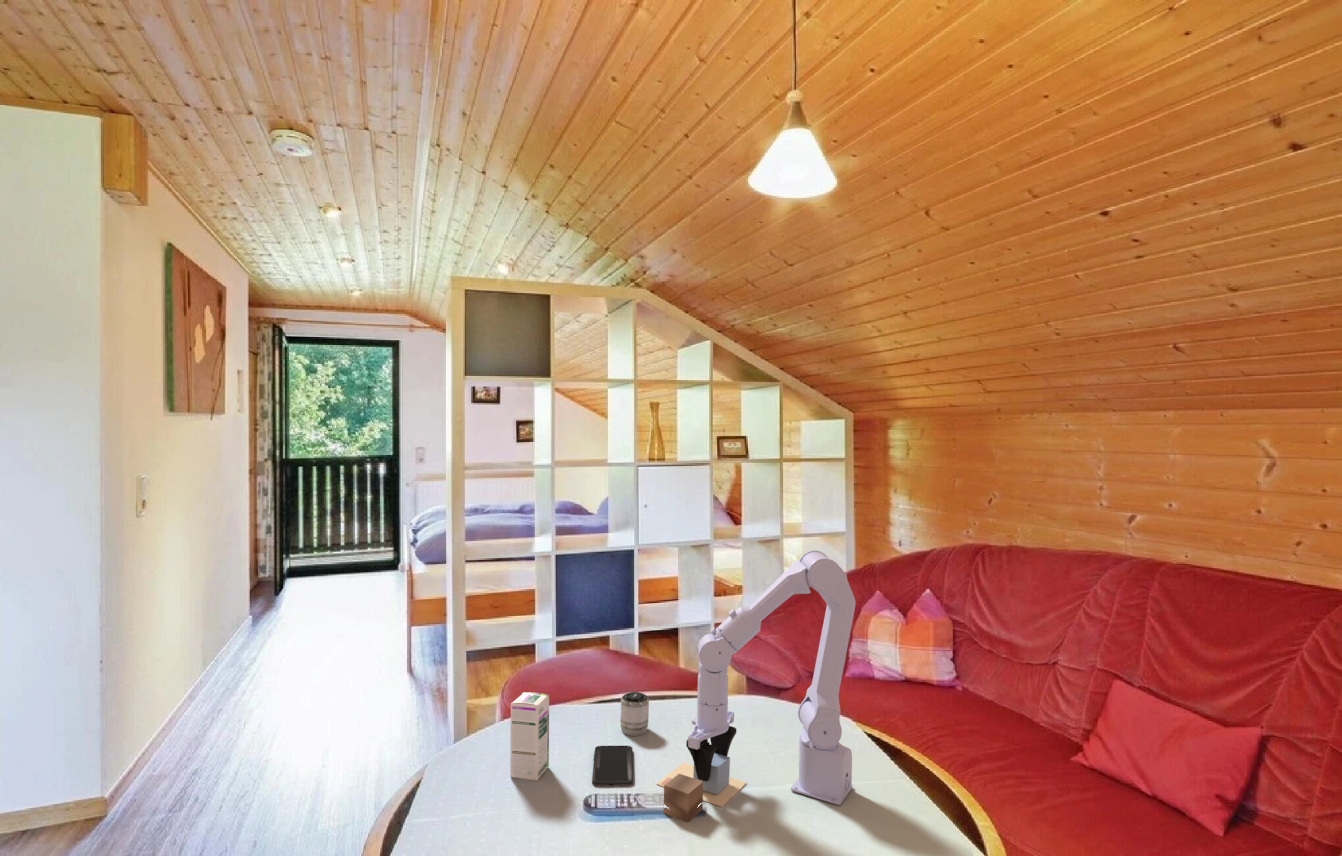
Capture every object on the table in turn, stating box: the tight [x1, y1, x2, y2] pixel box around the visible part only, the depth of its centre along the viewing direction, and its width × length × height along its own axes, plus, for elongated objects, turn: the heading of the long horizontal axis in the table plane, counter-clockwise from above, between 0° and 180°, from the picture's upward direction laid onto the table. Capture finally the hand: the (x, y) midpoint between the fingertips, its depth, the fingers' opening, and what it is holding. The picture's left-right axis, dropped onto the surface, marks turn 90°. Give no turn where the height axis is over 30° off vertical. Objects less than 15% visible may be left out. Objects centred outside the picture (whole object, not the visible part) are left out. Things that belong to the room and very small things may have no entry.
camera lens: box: [619, 691, 650, 737], centre depth 153 cm, size 6×6×8 cm
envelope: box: [655, 762, 747, 808], centre depth 130 cm, size 14×10×1 cm
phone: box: [591, 745, 634, 787], centre depth 136 cm, size 8×1×15 cm
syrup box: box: [509, 691, 550, 782], centre depth 134 cm, size 6×6×14 cm
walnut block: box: [663, 774, 704, 823], centre depth 121 cm, size 5×5×5 cm
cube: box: [693, 753, 731, 795], centre depth 129 cm, size 5×5×5 cm
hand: (711, 772), depth 129 cm, fingers open, 6 cm apart
